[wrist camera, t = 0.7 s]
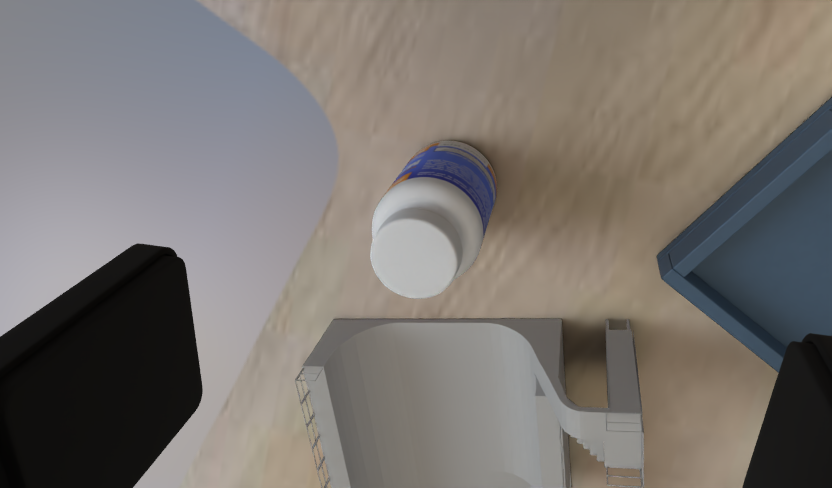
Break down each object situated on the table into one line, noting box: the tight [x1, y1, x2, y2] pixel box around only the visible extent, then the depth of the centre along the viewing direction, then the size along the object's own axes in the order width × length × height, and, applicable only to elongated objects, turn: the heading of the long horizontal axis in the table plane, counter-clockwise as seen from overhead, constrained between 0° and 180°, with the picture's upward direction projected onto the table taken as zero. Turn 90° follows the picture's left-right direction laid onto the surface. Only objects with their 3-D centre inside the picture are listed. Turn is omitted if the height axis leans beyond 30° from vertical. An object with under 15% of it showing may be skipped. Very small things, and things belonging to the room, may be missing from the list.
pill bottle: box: [371, 141, 497, 299], centre depth 33 cm, size 5×5×10 cm
